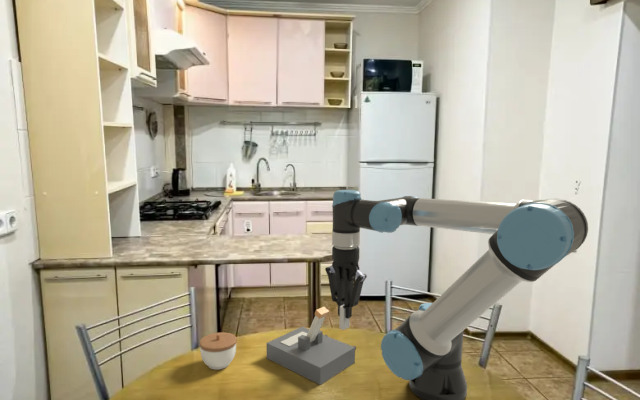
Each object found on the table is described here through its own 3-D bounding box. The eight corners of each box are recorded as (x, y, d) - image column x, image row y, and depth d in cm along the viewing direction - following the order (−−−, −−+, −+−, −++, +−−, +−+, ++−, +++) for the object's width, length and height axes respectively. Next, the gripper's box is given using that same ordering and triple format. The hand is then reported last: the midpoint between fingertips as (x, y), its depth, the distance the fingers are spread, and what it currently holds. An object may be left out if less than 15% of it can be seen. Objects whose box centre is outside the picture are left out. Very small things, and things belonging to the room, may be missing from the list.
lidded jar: (228, 375, 120) (227, 344, 119) (193, 371, 123) (192, 341, 121) (242, 357, 131) (241, 328, 130) (210, 354, 133) (209, 325, 132)
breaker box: (354, 362, 128) (355, 336, 127) (320, 384, 116) (320, 355, 115) (302, 340, 142) (302, 316, 141) (266, 358, 130) (266, 332, 129)
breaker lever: (315, 341, 130) (329, 311, 125) (307, 345, 127) (321, 314, 122) (311, 336, 131) (324, 306, 126) (303, 340, 128) (316, 309, 123)
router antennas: (356, 349, 136) (357, 346, 136) (343, 357, 131) (343, 354, 131) (325, 337, 145) (325, 333, 145) (311, 344, 140) (311, 341, 139)
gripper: (373, 247, 115) (371, 330, 118) (335, 240, 123) (334, 317, 126) (357, 252, 109) (355, 339, 112) (319, 244, 117) (318, 325, 120)
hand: (344, 327), depth 119 cm, fingers closed
